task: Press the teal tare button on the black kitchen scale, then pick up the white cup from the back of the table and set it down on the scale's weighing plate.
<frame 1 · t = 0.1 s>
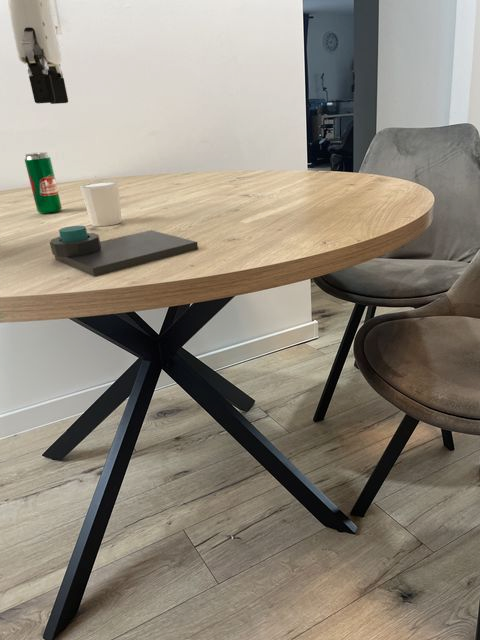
hand: (52, 103, 88), 21 cm above the table, tool pointing down, fingers open, 9 cm apart
tare button: (73, 234, 72), point 3 cm above the table, slide at 0.1 cm
white cup: (106, 223, 96), on the table
soda can: (50, 213, 111), on the table
scale: (126, 254, 74), on the table
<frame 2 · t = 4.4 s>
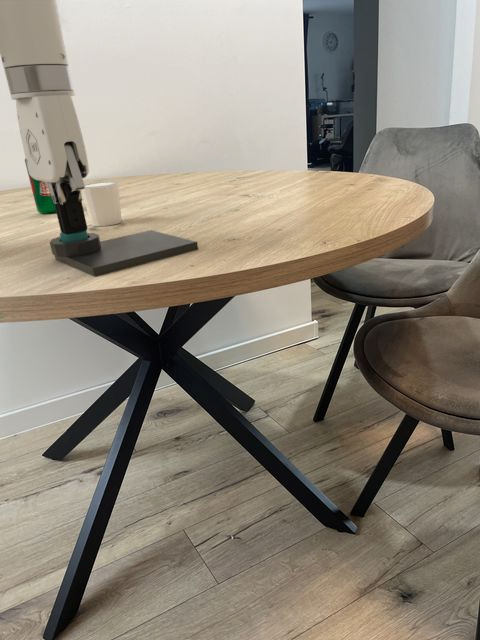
hand: (74, 231, 72), 4 cm above the table, tool pointing down, fingers closed
tare button: (74, 238, 72), point 3 cm above the table, slide at -0.3 cm, touching gripper
everything else where it was.
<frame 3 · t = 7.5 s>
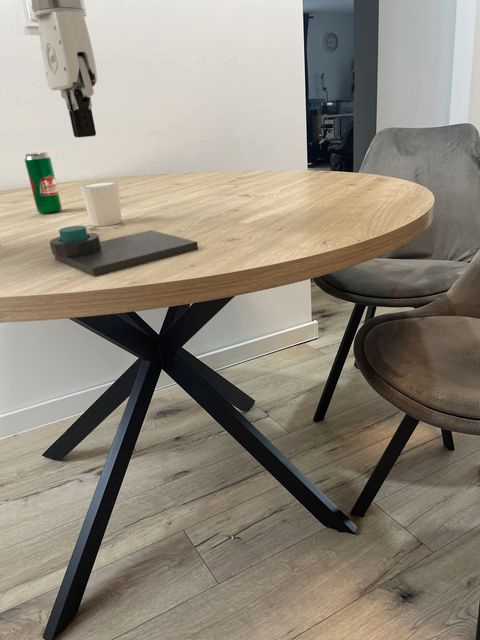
hand: (85, 136, 85), 15 cm above the table, tool pointing down, fingers closed
tare button: (73, 234, 72), point 3 cm above the table, slide at 0.1 cm
everything else where it was.
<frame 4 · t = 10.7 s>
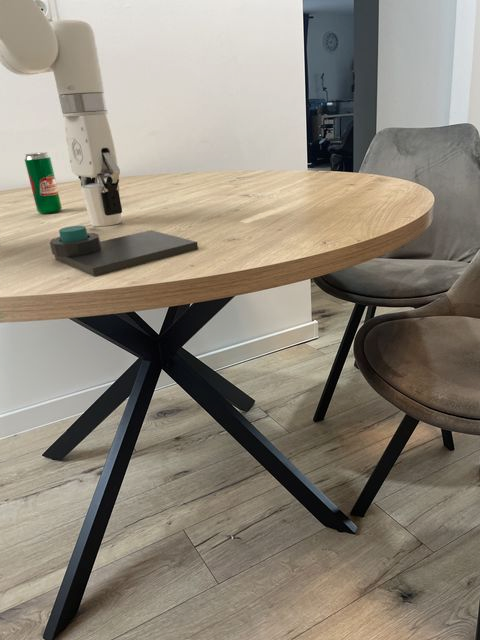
hand: (104, 211, 95), 2 cm above the table, tool pointing down, fingers closed on white cup, 6 cm apart
white cup: (106, 223, 96), on the table, touching gripper
everything else where it was.
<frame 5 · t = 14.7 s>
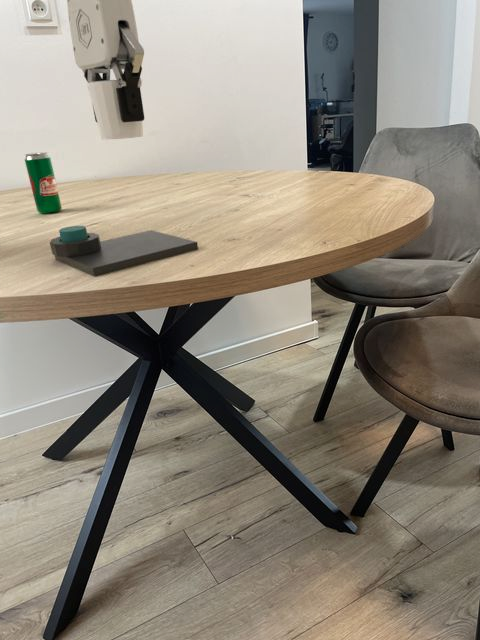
hand: (119, 120, 70), 18 cm above the table, tool pointing down, fingers closed on white cup, 6 cm apart
white cup: (122, 139, 71), point 15 cm above the table, touching gripper
everything else where it was.
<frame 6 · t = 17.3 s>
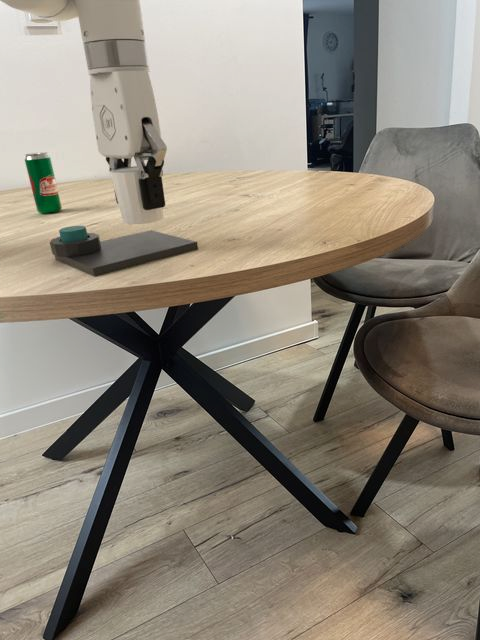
hand: (140, 204, 72), 7 cm above the table, tool pointing down, fingers closed on white cup, 6 cm apart
white cup: (143, 221, 73), point 4 cm above the table, touching gripper
everything else where it was.
when the fingers open (3 cm above the table, at t = 19.0 s): white cup stays where it is, resting on scale.
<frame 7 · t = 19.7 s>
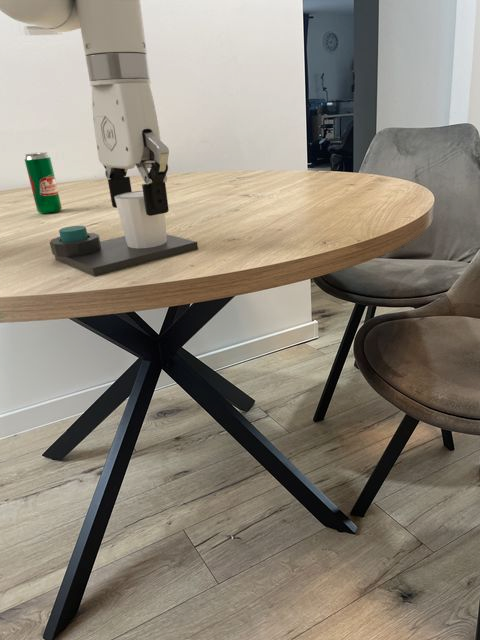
hand: (139, 209, 72), 6 cm above the table, tool pointing down, fingers open, 9 cm apart
white cup: (147, 244, 74), point 1 cm above the table, touching scale
everything else where it was.
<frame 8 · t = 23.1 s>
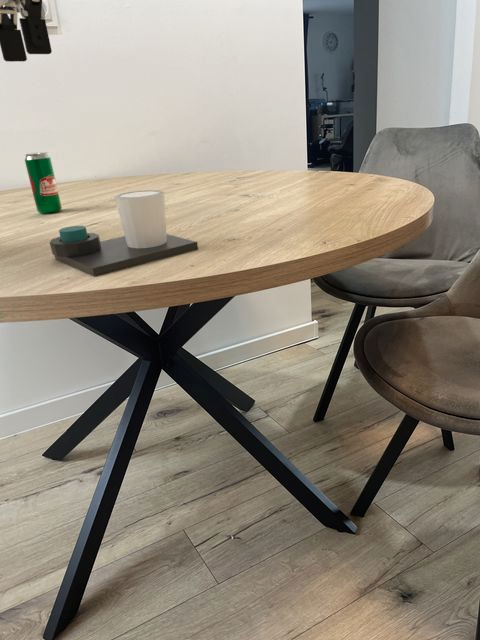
hand: (27, 57, 72), 26 cm above the table, tool pointing down, fingers open, 9 cm apart
nothing on the table moved.
at the end: tare button pushed in 1.1 cm at the most during the clip, back to where it started at the end; white cup inside the target area on the scale (0.1 cm from its centre), point 1.0 cm above the scale's base; white cup touching scale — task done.
